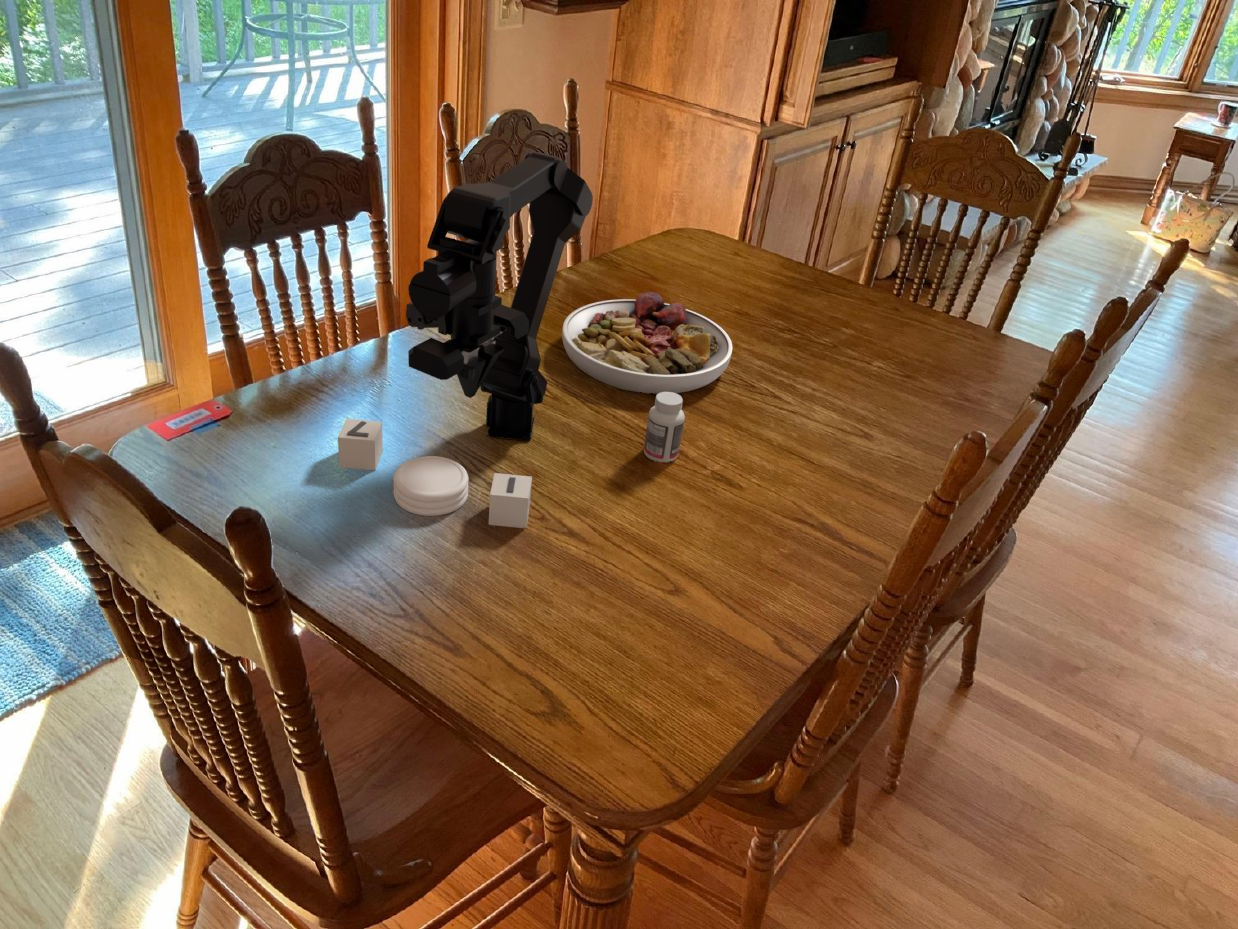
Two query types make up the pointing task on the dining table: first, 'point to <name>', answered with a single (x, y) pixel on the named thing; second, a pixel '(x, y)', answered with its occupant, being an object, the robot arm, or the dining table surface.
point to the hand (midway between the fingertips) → (469, 396)
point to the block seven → (360, 444)
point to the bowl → (646, 345)
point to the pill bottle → (664, 428)
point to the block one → (510, 500)
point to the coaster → (430, 486)
